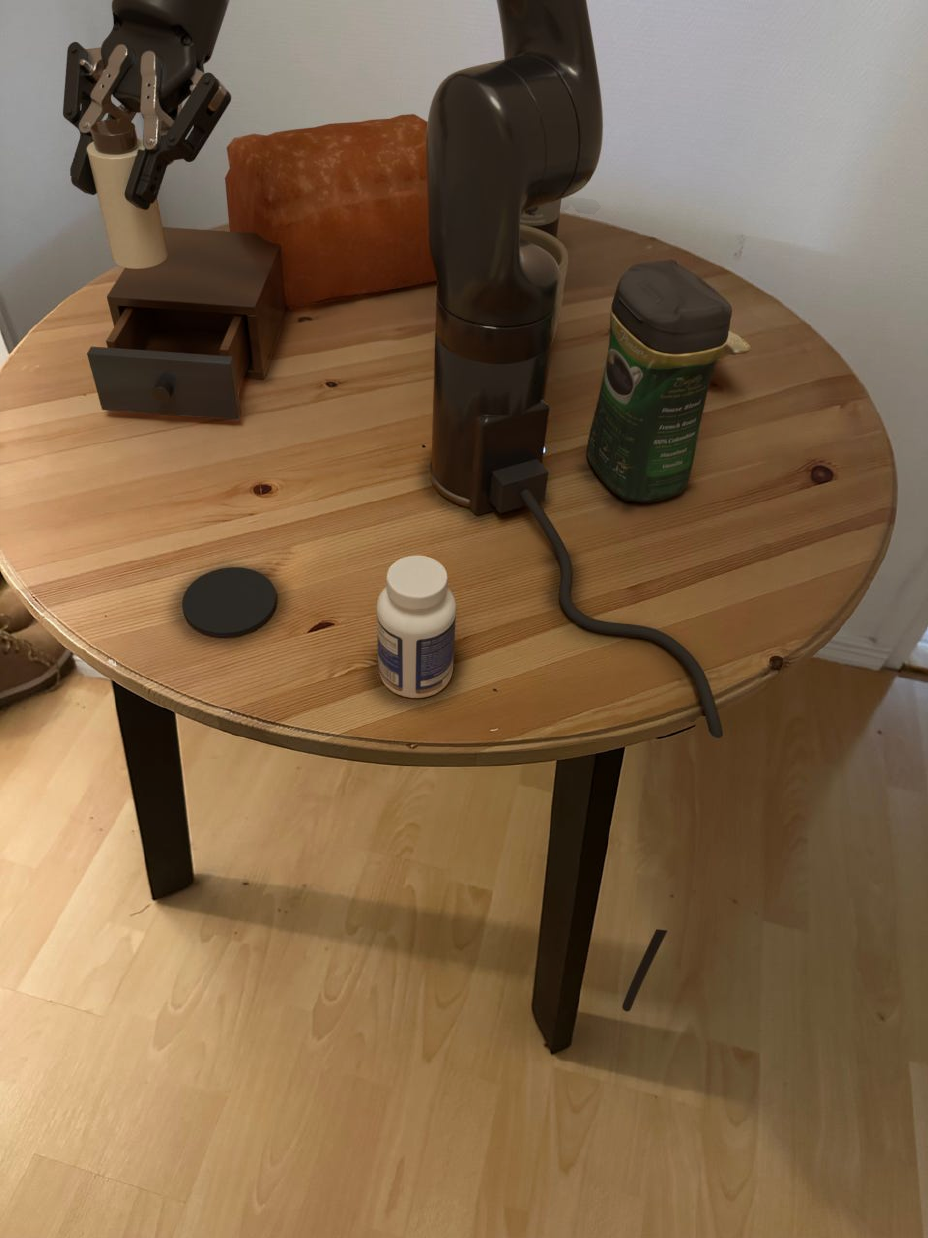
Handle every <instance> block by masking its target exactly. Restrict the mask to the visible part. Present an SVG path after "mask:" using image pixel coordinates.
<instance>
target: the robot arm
mask: <svg viewBox="0 0 928 1238" xmlns="http://www.w3.org/2000/svg"><path fill="white" fill-rule="evenodd" d="M230 1H231V0H112V1H111V12H112V21H113V24H112V29H111V31H110V33H109V34H108V36H107V37H106V38H105V39H104V40H103V42H102V43H101V46H100V47H92V48H84V46H83V45H82V44H80V43H79V42H78V41H73V42H71V43H70V44H68V47H67V49H66V64H65V78H64V79H65V80H64V92H63V104H62V116H63V118H64V119H65V120H66V121H68V122H69V123H70V124H71V125H72V126H74V127H75V128H76V129H77V130H78V132H79V140H78V143H77V146H76V148H75V149H76V150H75V153H74V156H73V160H72V162H71V164H70V168H69V176H70V181H71V184H72V185H73V186H74V187H76V188H77V189H79V190H80V191H81V192H83V193H84V194H87V195H90V196H95V195H97V192H96V188H95V184H94V179H93V175H92V171H91V167H90V162H89V158H88V154H87V146H88V145H89V144H90V143H91V142H93V138H92V134H91V126H92V125H93V124H95V123H97V122H99V121H103V119H104V118H105V116H106V115H107V117H106V119H105V120H109V119H121V120H127V121H130V122H132V121H133V120H134V118H135V117H136V115H137V114H141V117H142V119H143V130H142V131H143V132H142V133H143V134H142V140H143V146H144V147H145V149H144V150H141V149H138V152H137V155H136V158H135V161H134V164H133V167H132V171H131V174H130V177H129V180H128V183H127V186H126V189H125V198H126V200H127V201H129V202H130V203H131V204H133V205H134V206H135V207H137V208H140V209H143V210H147V209H149V207H150V204H153V203H154V201H155V200H156V198H157V199H158V196H159V192H160V190H161V185H162V183H163V180H164V178H165V174H166V170H167V168H168V166H170V165H172V164H173V163H174V162H175V161H179V160H184V161H185V162H187V163H192V162H194V161H195V160H197V159H196V158H197V157H198V155H199V153H200V152H201V150H202V149H203V147H204V146H205V144H206V142H207V141H208V139H209V137H210V136H211V135H212V133H213V131H214V129H215V128H216V126H217V125H218V123H219V121H220V120H221V118H222V116H223V115H224V113H225V112H226V110H227V108H228V107H229V105H230V103H231V102H232V94H231V93H230V92H229V90H227V88H226V87H225V86H224V84H223V83H222V82H221V81H220V80H219V79H218V78H217V77H216V76H215V75H214V74H213V73H212V72H205V68H204V66H205V64H207V63H208V62H209V61H210V60H211V58H212V56H213V53H214V49H215V47H216V44H217V41H218V37H219V35H220V32H221V28H222V25H223V22H224V19H225V16H226V12H227V9H228V7H229V4H230ZM496 5H497V10H498V18H499V22H500V29H501V38H502V45H503V55H504V57H503V58H504V59H501V60H495V61H491V62H488V63H483V64H478V65H474V66H469V67H466V68H462V69H459V70H457V71H454V72H452V73H450V74H449V75H447V77H445V78H444V79H443V80H442V81H441V82H440V84H439V85H438V87H437V89H436V91H435V92H434V95H433V97H432V100H431V103H430V107H429V111H428V116H427V122H428V123H427V135H426V170H427V196H428V234H429V246H430V253H431V257H432V262H433V265H434V269H435V273H436V278H437V281H436V300H435V331H434V359H433V360H434V365H433V392H432V393H433V396H432V431H431V433H432V434H431V443H432V444H431V460H430V464H429V465H430V466H429V469H430V470H429V476H430V481H431V483H432V486H433V487H434V488H435V490H436V491H437V492H438V493H439V494H440V495H441V496H443V498H445V499H447V500H448V501H451V502H453V503H454V504H457V505H459V506H462V507H466V508H468V509H470V510H471V511H472V512H473V514H474V515H476V516H479V515H483V514H486V513H490V512H493V511H498V513H499V514H503V513H506V512H509V511H513V510H516V509H519V508H522V507H526V508H527V509H528V510H529V512H530V513H531V514H532V516H533V518H535V520H536V521H537V523H538V525H539V527H540V528H541V529H542V531H543V533H544V535H545V536H546V538H547V540H548V541H549V543H550V545H551V547H552V549H553V551H554V552H555V555H556V557H557V561H558V563H559V568H560V582H559V589H558V590H559V591H558V600H559V604H560V607H561V609H562V610H563V611H564V613H565V615H566V616H567V617H568V618H569V619H570V620H571V621H573V622H574V623H575V624H577V625H578V626H580V627H582V628H584V629H585V630H588V631H592V632H595V633H599V634H605V635H612V636H613V635H614V636H623V637H633V638H639V639H644V640H648V641H651V642H653V643H655V644H658V645H659V646H661V647H663V648H664V649H666V650H667V651H668V652H669V653H671V654H672V655H673V656H674V657H675V658H677V659H678V660H679V662H681V663H682V664H683V666H685V668H686V669H687V671H688V672H689V674H690V676H691V678H692V680H693V683H694V685H695V687H696V690H697V693H698V696H699V700H700V703H701V706H702V707H701V708H702V711H703V713H704V717H705V721H706V724H707V728H708V732H709V733H710V735H711V736H712V737H714V738H715V739H721V738H722V737H723V736H724V732H723V727H722V723H721V717H720V715H719V711H718V707H717V704H716V701H715V697H714V694H713V691H712V688H711V685H710V683H709V680H708V678H707V676H706V674H705V672H704V670H703V668H702V666H701V665H700V663H699V662H698V660H697V659H696V658H695V657H694V656H693V654H692V653H691V652H690V651H689V650H688V649H687V648H686V647H685V646H684V645H682V644H681V643H680V642H679V641H677V640H676V639H674V638H673V637H671V636H670V635H668V634H667V633H665V632H663V631H660V630H658V629H656V628H653V627H649V626H645V625H639V624H633V623H623V622H612V621H604V620H600V619H596V618H593V617H590V616H589V615H586V614H585V613H583V612H582V611H581V610H579V609H578V608H577V607H576V606H575V604H574V603H573V601H572V594H571V591H572V584H573V564H572V561H571V557H570V555H569V553H568V550H567V547H566V545H565V543H564V542H563V540H562V538H561V536H560V534H559V533H558V531H557V529H556V528H555V526H554V524H553V523H552V521H551V520H550V518H549V516H548V515H547V514H546V512H545V511H544V509H543V508H542V506H541V505H540V503H539V502H542V501H545V500H546V492H547V486H548V478H549V470H548V469H547V468H546V467H545V466H544V465H543V458H544V453H545V452H546V447H545V444H546V436H547V430H548V423H549V414H550V406H549V404H548V403H547V402H546V393H547V386H548V385H547V384H548V377H549V371H550V363H551V356H552V355H551V354H552V347H553V346H552V345H553V341H552V339H553V333H554V325H555V318H556V310H557V302H558V295H559V287H560V270H559V267H558V264H557V262H556V260H555V259H554V258H553V257H552V255H551V254H549V253H548V252H547V251H546V250H544V249H542V248H541V247H539V246H537V245H535V244H533V243H531V242H528V241H526V240H523V239H520V216H521V212H523V211H526V210H529V209H532V208H535V207H538V206H541V205H544V204H547V203H550V202H554V201H556V200H559V199H561V200H562V199H565V198H568V197H570V196H573V195H574V194H576V193H578V192H579V191H581V190H582V189H583V188H585V187H586V185H587V184H588V183H589V182H590V181H591V179H592V177H593V175H594V174H595V172H596V169H597V167H598V164H599V162H600V157H601V153H602V148H603V138H604V137H603V136H604V116H603V115H604V114H603V113H604V112H603V99H602V91H601V84H600V78H599V77H600V76H599V71H598V63H597V57H596V50H595V43H594V39H593V38H594V37H593V32H592V26H591V20H590V14H589V8H588V1H587V0H496ZM112 97H113V98H114V99H115V100H116V101H118V102H119V103H120V104H119V105H118V106H117V105H116V104H114V102H113V101H112ZM185 100H186V101H185ZM184 101H185V103H184V105H183V102H184ZM553 340H554V339H553ZM667 933H668V930H666V929H659V928H658V929H655V931H654V933H653V935H652V937H651V939H650V942H649V944H648V945H647V948H646V950H645V952H644V953H643V956H642V959H641V961H640V963H639V965H638V967H637V969H636V971H635V974H634V977H633V978H632V981H631V983H630V985H629V988H628V989H627V993H626V995H625V997H624V1000H623V1003H622V1006H621V1008H622V1010H623V1011H624V1012H630V1011H631V1010H632V1008H633V1005H634V1002H635V1000H636V998H637V996H638V993H639V991H640V989H641V986H642V984H643V982H644V980H645V977H646V976H647V974H648V971H649V970H650V967H651V965H652V963H653V962H654V959H655V957H656V955H657V953H658V951H659V949H660V947H661V945H662V944H663V941H664V939H665V937H666V935H667Z"/></svg>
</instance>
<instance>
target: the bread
mask: <svg viewBox="0 0 928 1238" xmlns="http://www.w3.org/2000/svg"><path fill="white" fill-rule="evenodd" d="M427 123H428V120H427V121H426V120H425V119H423V118H421V117H420V116H419V115H417V114H414V113H410V114H409V113H408V114H400V115H397V116H394V117H390V118H379V119H367V120H362V121H352V122H337V123H336V122H335V123H327V124H322V125H319V126H315V127H304V128H303V127H302V128H294V129H287V130H281V131H275V132H272V133H269V134H267V135H266V134H265V135H264V134H260V133H259V134H258V133H250V134H247V135H241V136H237V137H234V138H233V139H232V140H231V141H230V142H229V144H228V145H227V146H226V153H227V159H228V166H229V169H228V171H227V172H226V175H225V177H224V181H225V195H226V205H227V207H226V208H227V217H228V228H229V232H241V233H255V234H258V235H259V236H260V237H261V238H263V239H265V240H266V241H269V242H272V243H276V244H281V257H282V269H283V282H284V294H285V301H286V305H287V308H289V309H290V308H295V307H303V306H308V305H316V304H322V303H323V304H324V303H327V302H332V301H338V300H342V299H346V298H352V297H356V296H362V295H367V294H368V295H369V294H372V293H373V294H374V293H379V292H384V291H389V290H397V289H400V288H406V287H411V286H417V285H423V284H429V283H433V282H437V278H436V273H435V269H434V265H433V262H432V257H431V253H430V246H429V234H428V196H427V170H426V135H427Z"/></svg>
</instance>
